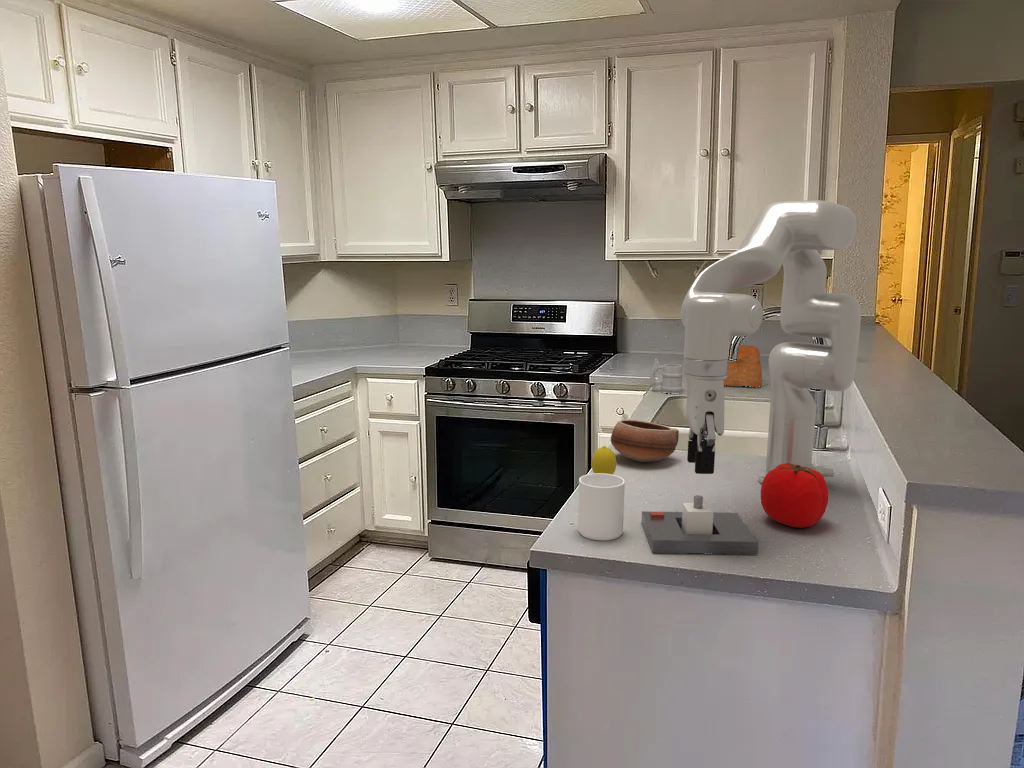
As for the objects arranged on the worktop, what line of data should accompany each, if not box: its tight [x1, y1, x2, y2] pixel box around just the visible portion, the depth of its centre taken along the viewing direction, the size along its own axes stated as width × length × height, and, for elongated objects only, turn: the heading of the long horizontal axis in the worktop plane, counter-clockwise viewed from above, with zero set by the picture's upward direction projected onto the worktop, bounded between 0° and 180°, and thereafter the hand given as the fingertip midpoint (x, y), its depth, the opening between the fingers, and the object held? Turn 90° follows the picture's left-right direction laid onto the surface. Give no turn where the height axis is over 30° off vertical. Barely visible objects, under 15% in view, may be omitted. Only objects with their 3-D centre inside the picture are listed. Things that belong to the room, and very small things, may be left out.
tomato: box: [760, 462, 829, 529], centre depth 144 cm, size 12×13×12 cm
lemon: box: [590, 445, 617, 475], centre depth 169 cm, size 6×6×8 cm
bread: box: [723, 343, 763, 388], centre depth 284 cm, size 14×27×15 cm, turn 72°
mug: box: [649, 358, 684, 394], centre depth 267 cm, size 8×12×12 cm, turn 78°
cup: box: [577, 472, 626, 542], centre depth 140 cm, size 8×12×10 cm
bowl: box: [610, 419, 680, 463], centre depth 184 cm, size 16×16×10 cm
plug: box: [681, 494, 714, 534], centre depth 136 cm, size 4×4×8 cm
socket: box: [641, 511, 759, 555], centre depth 136 cm, size 18×14×3 cm
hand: (700, 466), depth 134 cm, fingers open, 5 cm apart
